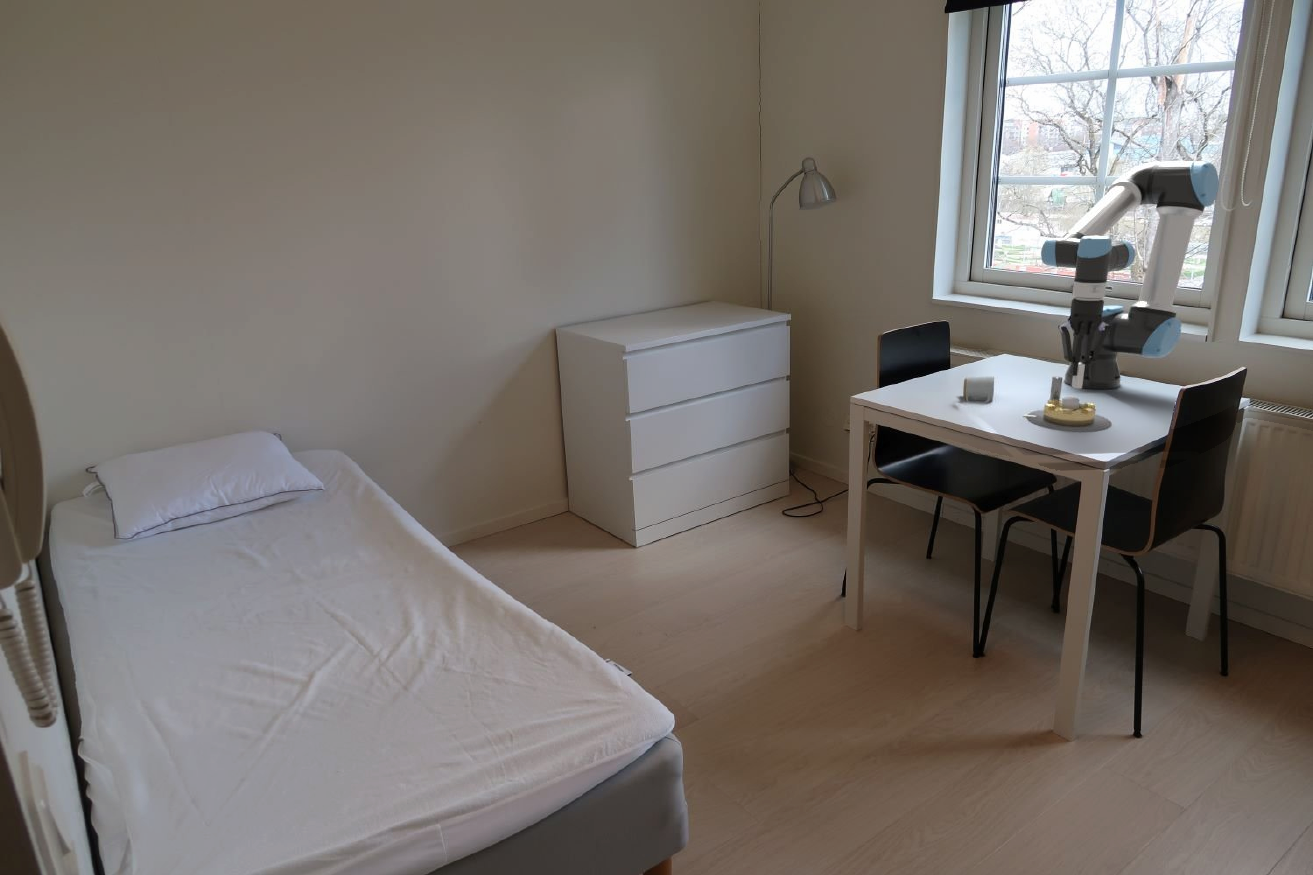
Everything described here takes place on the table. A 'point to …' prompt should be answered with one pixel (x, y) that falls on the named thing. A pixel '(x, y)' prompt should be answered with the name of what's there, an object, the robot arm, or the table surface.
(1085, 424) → the gold crank wheel
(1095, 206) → the robot arm
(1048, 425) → the base
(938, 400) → the table surface
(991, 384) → the ceramic mug
